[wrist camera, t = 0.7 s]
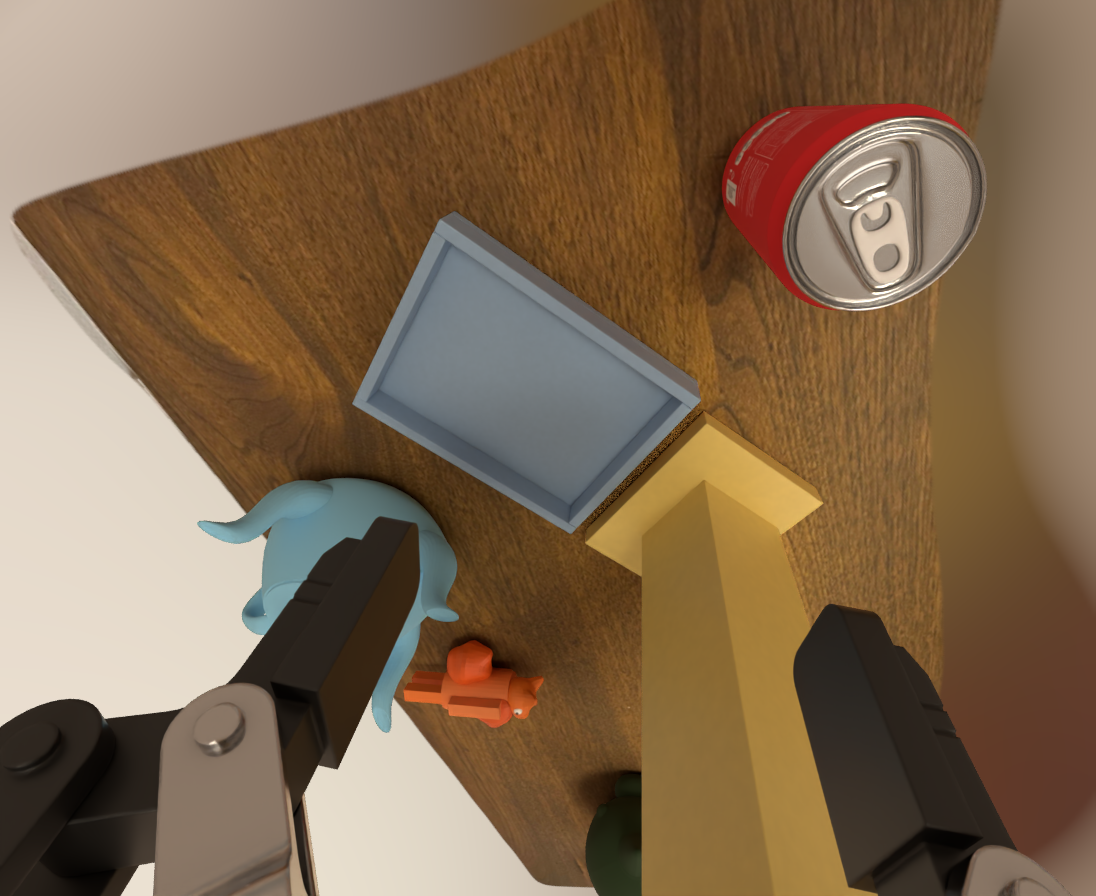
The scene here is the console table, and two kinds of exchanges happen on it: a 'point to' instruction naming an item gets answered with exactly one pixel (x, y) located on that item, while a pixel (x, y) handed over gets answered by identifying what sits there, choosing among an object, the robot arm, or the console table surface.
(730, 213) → the beverage can
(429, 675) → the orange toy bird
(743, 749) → the stand
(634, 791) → the green caterpillar figure
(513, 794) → the console table surface
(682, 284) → the console table surface
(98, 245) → the console table surface
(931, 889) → the robot arm
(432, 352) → the blue tray
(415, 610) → the teapot
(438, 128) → the console table surface
